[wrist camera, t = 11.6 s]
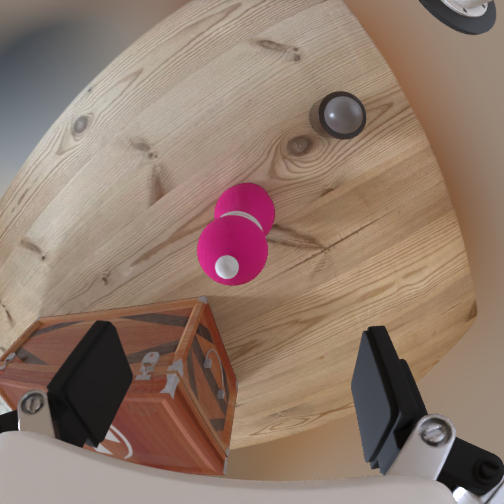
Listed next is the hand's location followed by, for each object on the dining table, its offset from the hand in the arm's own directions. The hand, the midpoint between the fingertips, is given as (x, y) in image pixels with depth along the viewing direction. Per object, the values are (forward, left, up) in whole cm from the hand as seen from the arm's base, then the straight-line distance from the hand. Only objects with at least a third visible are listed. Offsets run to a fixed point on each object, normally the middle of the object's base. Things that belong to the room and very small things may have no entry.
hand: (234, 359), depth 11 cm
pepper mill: (+2, -2, -32) cm, 32 cm away
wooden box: (+29, -27, -32) cm, 51 cm away
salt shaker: (-9, +9, -32) cm, 34 cm away
